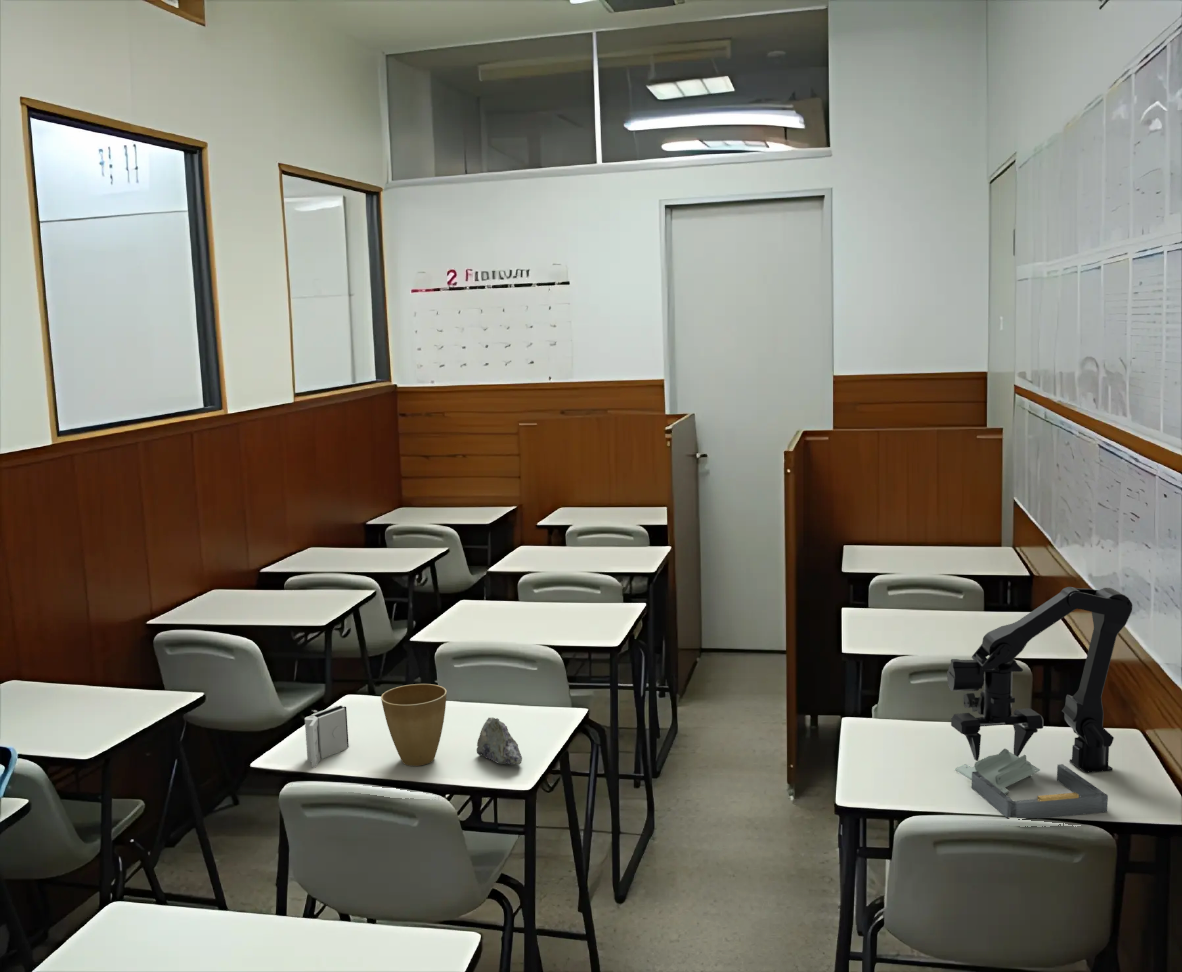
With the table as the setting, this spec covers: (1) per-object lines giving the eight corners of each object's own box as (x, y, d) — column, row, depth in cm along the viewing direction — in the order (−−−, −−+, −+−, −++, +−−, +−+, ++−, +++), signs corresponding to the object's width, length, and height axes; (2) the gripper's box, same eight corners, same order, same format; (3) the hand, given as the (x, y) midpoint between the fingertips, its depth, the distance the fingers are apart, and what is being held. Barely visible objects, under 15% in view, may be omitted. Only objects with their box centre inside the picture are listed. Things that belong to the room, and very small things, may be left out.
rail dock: (1062, 779, 234) (1062, 761, 233) (1107, 812, 218) (1108, 792, 218) (971, 787, 231) (971, 769, 231) (1010, 821, 215) (1011, 801, 215)
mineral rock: (522, 772, 246) (520, 729, 244) (473, 774, 246) (472, 731, 244) (523, 750, 259) (521, 709, 257) (477, 752, 258) (475, 711, 257)
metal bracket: (1003, 738, 243) (1048, 764, 229) (1008, 761, 244) (1054, 788, 230) (948, 764, 240) (990, 791, 226) (954, 787, 241) (997, 816, 227)
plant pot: (448, 745, 263) (445, 681, 260) (450, 769, 248) (447, 701, 246) (385, 750, 260) (381, 685, 258) (383, 775, 246) (379, 706, 244)
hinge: (337, 766, 252) (334, 725, 250) (301, 767, 252) (299, 726, 250) (349, 745, 265) (347, 705, 263) (315, 746, 265) (313, 706, 263)
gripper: (1019, 675, 248) (1017, 742, 250) (940, 681, 246) (939, 748, 248) (1045, 691, 237) (1043, 760, 239) (963, 697, 235) (962, 767, 237)
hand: (996, 758), depth 241 cm, fingers open, 9 cm apart
